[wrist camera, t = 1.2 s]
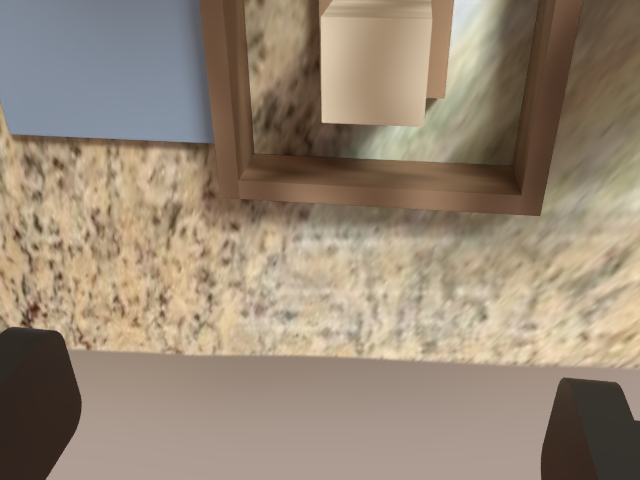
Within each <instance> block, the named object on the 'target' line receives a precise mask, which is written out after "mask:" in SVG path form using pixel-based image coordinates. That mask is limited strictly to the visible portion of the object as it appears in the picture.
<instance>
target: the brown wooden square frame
mask: <svg viewBox="0 0 640 480" xmlns="http://www.w3.org/2000/svg"><path fill="white" fill-rule="evenodd" d="M332 1H333V0H319V56H320V94H321V16H322V15H323V13H324V12H325V10H326V9H327V8H328V6H329V5H330V3H331V2H332ZM199 2H200V11H201V20H202V30H203V39H204V49H205V58H206V67H207V77H208V86H209V96H210V105H211V114H212V124H213V133H214V143H215V152H216V162H217V171H218V180H219V190H220V198H233V199H251V200H268V201H286V202H303V203H321V204H338V205H356V206H373V207H391V208H408V209H426V210H443V211H461V212H478V213H496V214H513V215H531V216H540V214H541V209H542V204H543V199H544V194H545V189H546V184H547V179H548V174H549V169H550V164H551V159H552V154H553V149H554V144H555V139H556V134H557V129H558V124H559V119H560V114H561V109H562V104H563V99H564V94H565V89H566V84H567V79H568V74H569V69H570V64H571V59H572V54H573V49H574V44H575V39H576V34H577V29H578V24H579V19H580V14H581V9H582V4H583V0H539V6H538V12H537V18H536V24H535V31H534V37H533V43H532V49H531V55H530V61H529V67H528V73H527V79H526V85H525V91H524V97H523V103H522V109H521V115H520V122H519V128H518V134H517V140H516V146H515V152H514V158H513V164H512V166H502V165H480V164H459V163H438V162H417V161H396V160H375V159H353V158H332V157H311V156H290V155H269V154H254V141H253V127H252V113H251V99H250V85H249V71H248V57H247V43H246V29H245V15H244V1H243V0H199ZM431 5H432V31H431V43H430V56H429V68H428V81H427V93H426V98H443V99H444V98H445V88H446V78H447V67H448V57H449V47H450V36H451V26H452V16H453V5H454V0H431Z"/></svg>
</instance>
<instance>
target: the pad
mask: <svg viewBox="0 0 640 480" xmlns="http://www.w3.org/2000/svg"><path fill="white" fill-rule="evenodd" d="M0 102H1V105H2V109H3V112H4V116H5V119H6V123H7V126H8V129H9V133H10V134H17V135H39V136H61V137H83V138H105V139H127V140H149V141H171V142H193V143H214V133H213V124H212V114H211V105H210V96H209V86H208V77H207V67H206V58H205V49H204V39H203V30H202V20H201V11H200V2H199V0H0Z"/></svg>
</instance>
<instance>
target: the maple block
mask: <svg viewBox="0 0 640 480" xmlns="http://www.w3.org/2000/svg"><path fill="white" fill-rule="evenodd" d="M431 31H432V5H431V0H333V1H332V2H331V3H330V5H329V6H328V8H327V9H326V10H325V12H324V13H323V15H322V16H321V102H322V123H341V124H366V125H391V126H416V127H424V118H425V105H426V93H427V81H428V68H429V56H430V43H431Z"/></svg>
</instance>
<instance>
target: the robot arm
mask: <svg viewBox="0 0 640 480" xmlns="http://www.w3.org/2000/svg"><path fill="white" fill-rule="evenodd" d="M81 403H82V402H81V395H80V392H79V388H78V385H77V382H76V378H75V375H74V372H73V368H72V365H71V361H70V358H69V354H68V351H67V348H66V344H65V341H64V338H63V337H62V335H61V334H60V333H59V332H57V331H54V330H43V329H31V328H20V327H11V328H8V329H6V330H5V331H3V332H2V333H1V334H0V480H46V478H47V477H48V475H49V473H50V472H51V470H52V468H53V467H54V465H55V464H56V462H57V461H58V459H59V457H60V456H61V454H62V453H63V451H64V449H65V448H66V446H67V444H68V443H69V441H70V440H71V438H72V437H73V435H74V433H75V431H76V429H77V426H78V423H79V420H80V415H81ZM541 480H640V421H635V420H634V418H633V416H632V413H631V411H630V408H629V405H628V403H627V400H626V398H625V395H624V393H623V390H622V388H621V387H620V385H619V384H618V383H616V382H608V381H597V380H585V379H574V378H563V379H561V381H560V383H559V385H558V389H557V392H556V397H555V400H554V404H553V408H552V412H551V416H550V419H549V424H548V427H547V431H546V435H545V439H544V443H543V447H542V454H541Z"/></svg>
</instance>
